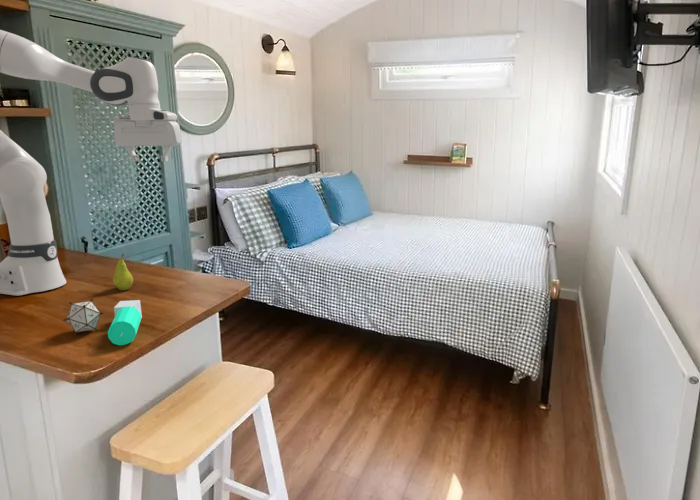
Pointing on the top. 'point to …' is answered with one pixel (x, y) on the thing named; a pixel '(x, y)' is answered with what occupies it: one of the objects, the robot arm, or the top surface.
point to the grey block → (128, 303)
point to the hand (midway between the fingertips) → (150, 161)
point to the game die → (83, 316)
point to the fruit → (122, 276)
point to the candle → (124, 326)
